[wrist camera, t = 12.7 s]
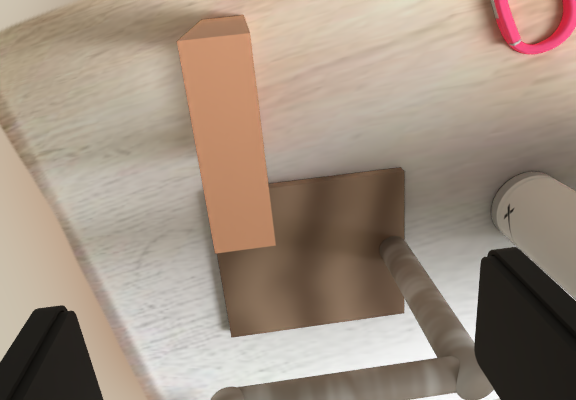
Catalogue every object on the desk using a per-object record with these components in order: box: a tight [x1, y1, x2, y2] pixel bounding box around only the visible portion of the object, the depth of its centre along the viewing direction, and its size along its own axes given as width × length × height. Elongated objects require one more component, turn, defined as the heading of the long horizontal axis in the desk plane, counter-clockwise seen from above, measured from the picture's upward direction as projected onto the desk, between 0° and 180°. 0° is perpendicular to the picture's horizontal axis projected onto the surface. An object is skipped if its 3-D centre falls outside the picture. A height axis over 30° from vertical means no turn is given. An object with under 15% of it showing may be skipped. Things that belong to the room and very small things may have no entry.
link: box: [177, 15, 276, 254], centre depth 29 cm, size 3×10×16 cm, turn 5°
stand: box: [211, 167, 494, 400], centre depth 35 cm, size 16×14×18 cm
